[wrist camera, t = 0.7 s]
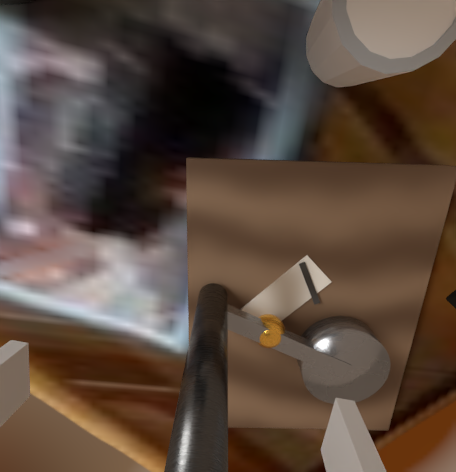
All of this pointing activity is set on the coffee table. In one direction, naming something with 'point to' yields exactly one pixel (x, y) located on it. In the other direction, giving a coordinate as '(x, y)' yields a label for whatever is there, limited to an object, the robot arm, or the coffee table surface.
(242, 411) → the crank stand
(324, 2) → the shot glass
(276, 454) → the coffee table surface
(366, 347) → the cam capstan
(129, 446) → the coffee table surface
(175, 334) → the coffee table surface
